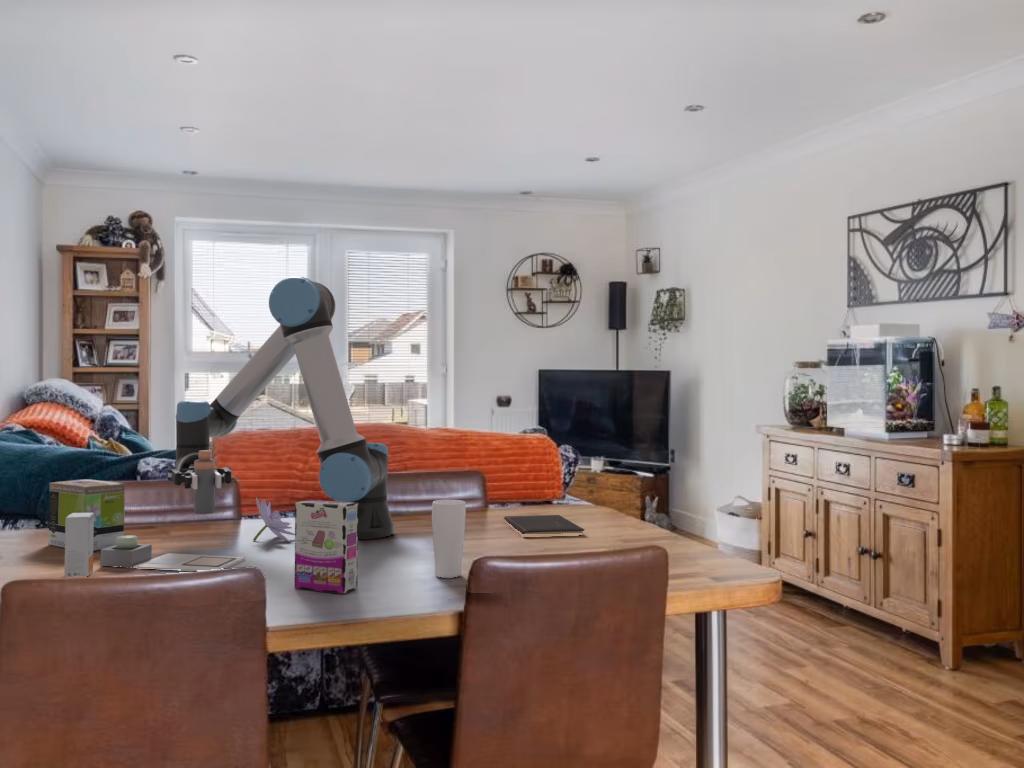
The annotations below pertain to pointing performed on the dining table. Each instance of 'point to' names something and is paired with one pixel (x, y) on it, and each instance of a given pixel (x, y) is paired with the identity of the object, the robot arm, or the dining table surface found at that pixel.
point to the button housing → (126, 556)
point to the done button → (126, 542)
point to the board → (190, 562)
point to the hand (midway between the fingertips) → (207, 482)
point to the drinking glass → (448, 536)
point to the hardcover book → (543, 524)
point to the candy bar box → (326, 546)
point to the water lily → (272, 521)
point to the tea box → (87, 509)
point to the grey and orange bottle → (204, 483)
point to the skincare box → (79, 544)
